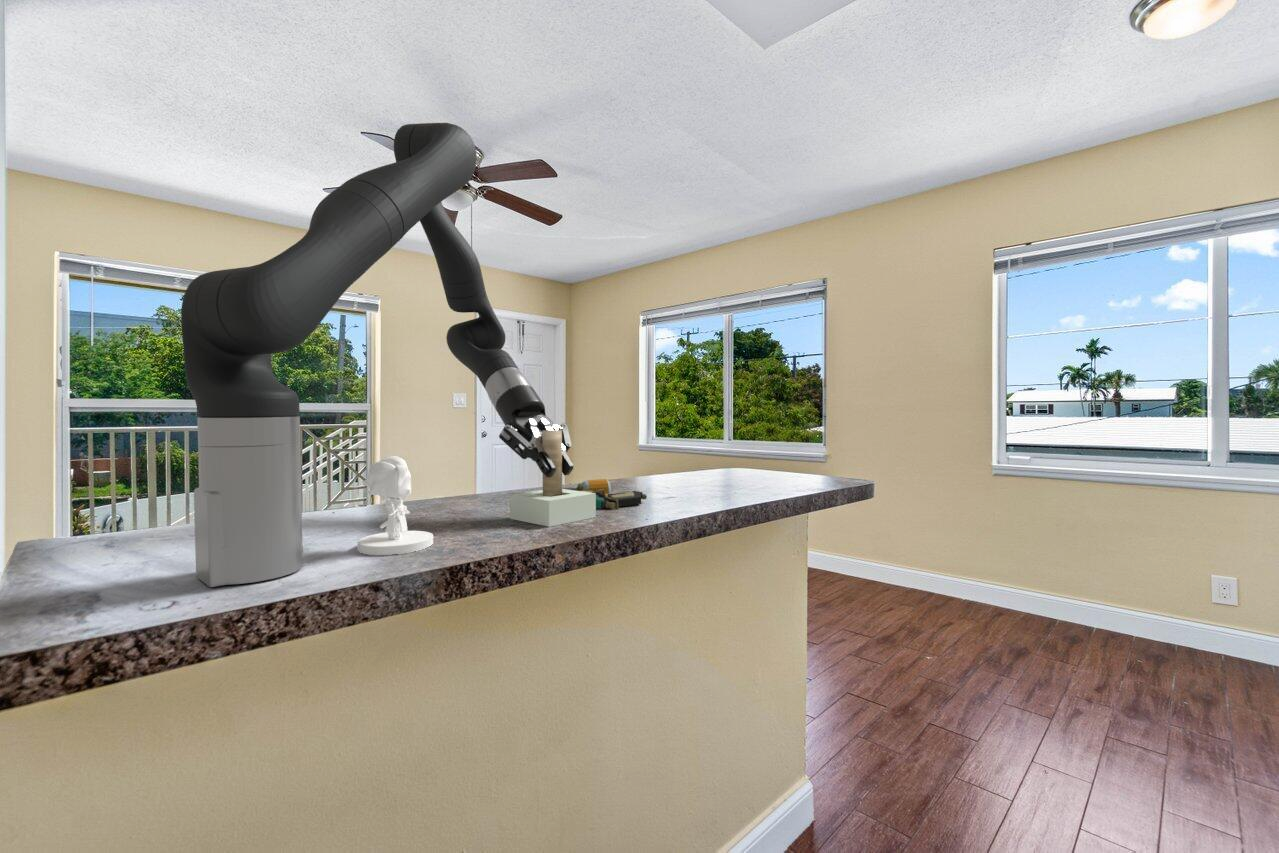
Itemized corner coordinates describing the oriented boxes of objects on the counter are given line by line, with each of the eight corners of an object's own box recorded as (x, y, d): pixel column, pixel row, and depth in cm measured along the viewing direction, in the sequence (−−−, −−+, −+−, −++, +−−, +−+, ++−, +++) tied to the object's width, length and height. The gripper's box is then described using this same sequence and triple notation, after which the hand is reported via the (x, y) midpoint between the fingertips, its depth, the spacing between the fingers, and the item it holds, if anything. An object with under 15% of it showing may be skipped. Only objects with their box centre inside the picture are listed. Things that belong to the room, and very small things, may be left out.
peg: (551, 505, 91) (550, 431, 90) (538, 503, 93) (538, 430, 93) (566, 502, 93) (565, 430, 93) (553, 500, 95) (553, 430, 95)
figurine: (406, 557, 69) (404, 459, 68) (341, 553, 71) (339, 458, 70) (446, 540, 78) (445, 453, 77) (387, 537, 80) (386, 452, 79)
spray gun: (654, 509, 107) (588, 522, 97) (604, 494, 120) (541, 504, 110) (654, 487, 106) (588, 498, 97) (604, 474, 119) (541, 482, 110)
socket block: (549, 526, 86) (549, 500, 86) (509, 518, 93) (509, 494, 93) (595, 517, 94) (595, 493, 94) (556, 510, 100) (556, 487, 100)
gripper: (489, 382, 92) (537, 461, 84) (554, 384, 103) (602, 454, 95) (471, 414, 96) (515, 492, 88) (536, 413, 106) (581, 483, 99)
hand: (560, 472), depth 92 cm, fingers closed on peg, 3 cm apart
